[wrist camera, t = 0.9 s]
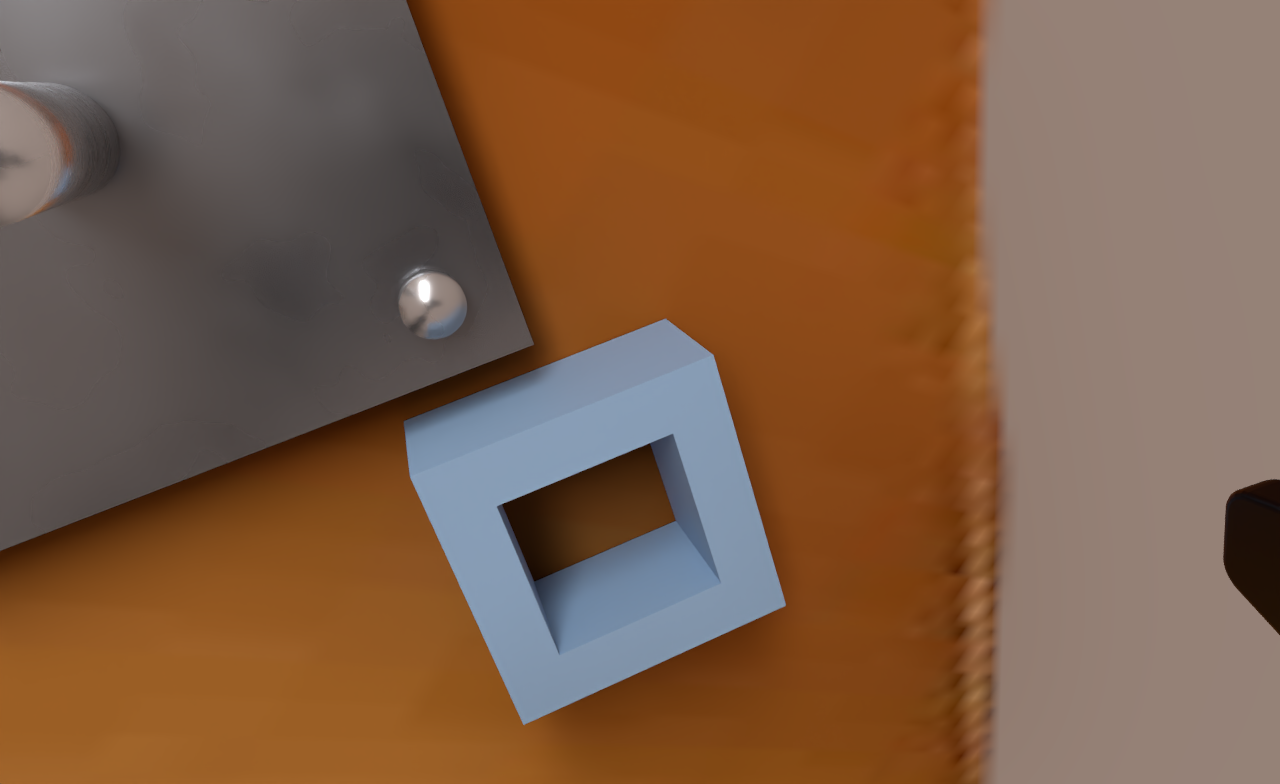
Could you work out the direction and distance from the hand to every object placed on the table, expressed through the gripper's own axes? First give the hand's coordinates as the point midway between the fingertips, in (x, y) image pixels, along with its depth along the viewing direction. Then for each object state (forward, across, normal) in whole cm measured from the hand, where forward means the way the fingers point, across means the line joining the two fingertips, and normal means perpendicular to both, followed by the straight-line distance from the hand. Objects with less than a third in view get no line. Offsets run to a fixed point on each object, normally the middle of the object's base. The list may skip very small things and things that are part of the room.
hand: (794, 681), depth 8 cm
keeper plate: (+12, +8, -6) cm, 15 cm away
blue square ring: (+12, +1, +4) cm, 13 cm away
